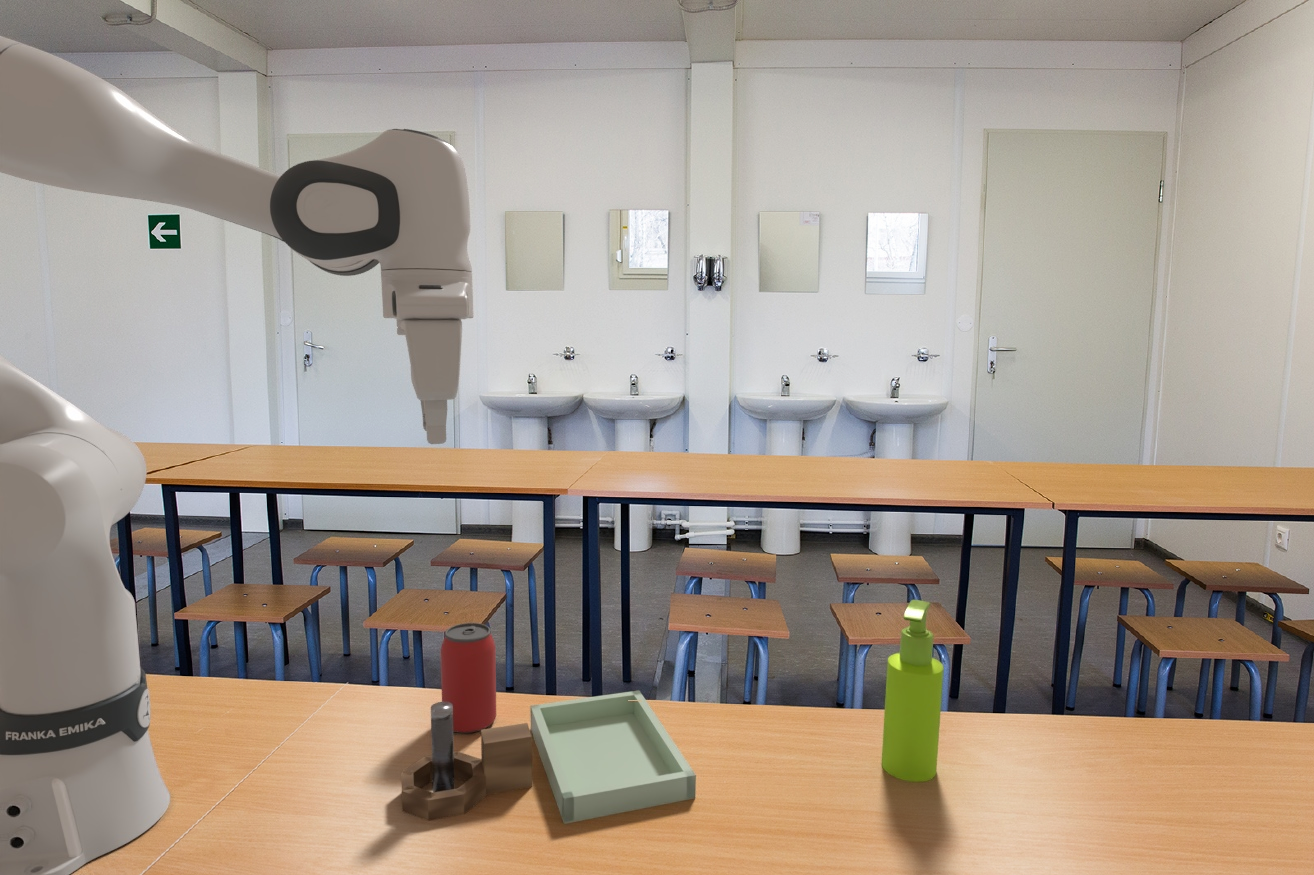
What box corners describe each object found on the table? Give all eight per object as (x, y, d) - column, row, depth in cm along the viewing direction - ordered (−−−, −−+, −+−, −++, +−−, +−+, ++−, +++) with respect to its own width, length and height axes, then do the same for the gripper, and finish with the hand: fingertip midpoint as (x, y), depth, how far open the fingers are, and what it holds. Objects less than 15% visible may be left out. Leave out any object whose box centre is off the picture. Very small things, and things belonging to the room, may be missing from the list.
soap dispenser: (874, 783, 86) (884, 609, 83) (887, 754, 92) (896, 590, 89) (929, 799, 83) (942, 619, 80) (939, 767, 89) (951, 599, 86)
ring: (401, 780, 85) (400, 729, 84) (523, 760, 89) (523, 711, 88) (402, 827, 77) (400, 771, 76) (536, 803, 81) (536, 749, 80)
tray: (563, 827, 77) (563, 798, 77) (530, 729, 96) (530, 705, 96) (695, 802, 82) (695, 775, 81) (638, 713, 101) (639, 690, 100)
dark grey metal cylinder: (433, 803, 81) (431, 713, 80) (432, 791, 83) (430, 703, 82) (455, 799, 82) (453, 710, 80) (453, 788, 84) (451, 700, 82)
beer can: (502, 711, 101) (501, 622, 99) (486, 737, 94) (485, 643, 92) (453, 707, 101) (451, 619, 100) (434, 734, 95) (431, 639, 93)
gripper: (395, 303, 88) (401, 425, 90) (396, 298, 68) (403, 453, 70) (452, 303, 90) (457, 423, 92) (469, 298, 70) (474, 449, 72)
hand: (434, 436), depth 81 cm, fingers open, 8 cm apart
